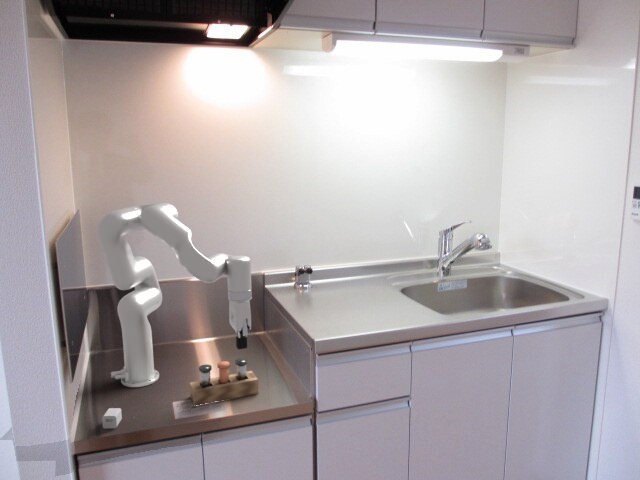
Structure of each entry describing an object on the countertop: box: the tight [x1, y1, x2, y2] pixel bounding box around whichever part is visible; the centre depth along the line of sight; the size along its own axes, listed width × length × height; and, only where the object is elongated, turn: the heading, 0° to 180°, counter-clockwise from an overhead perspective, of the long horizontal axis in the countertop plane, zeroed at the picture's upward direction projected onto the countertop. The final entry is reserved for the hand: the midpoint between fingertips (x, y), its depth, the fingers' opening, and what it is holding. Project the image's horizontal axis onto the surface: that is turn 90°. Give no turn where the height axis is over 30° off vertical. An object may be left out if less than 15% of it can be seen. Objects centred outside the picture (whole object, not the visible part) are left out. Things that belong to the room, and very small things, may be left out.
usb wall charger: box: [101, 407, 123, 429], centre depth 152 cm, size 4×7×4 cm, turn 2°
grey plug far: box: [234, 357, 249, 381], centre depth 169 cm, size 4×4×7 cm
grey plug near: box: [198, 364, 213, 388], centre depth 164 cm, size 4×4×7 cm
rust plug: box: [217, 360, 231, 384], centre depth 167 cm, size 4×4×7 cm
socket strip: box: [189, 370, 259, 407], centre depth 168 cm, size 21×7×5 cm, turn 115°
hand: (241, 347), depth 168 cm, fingers closed
